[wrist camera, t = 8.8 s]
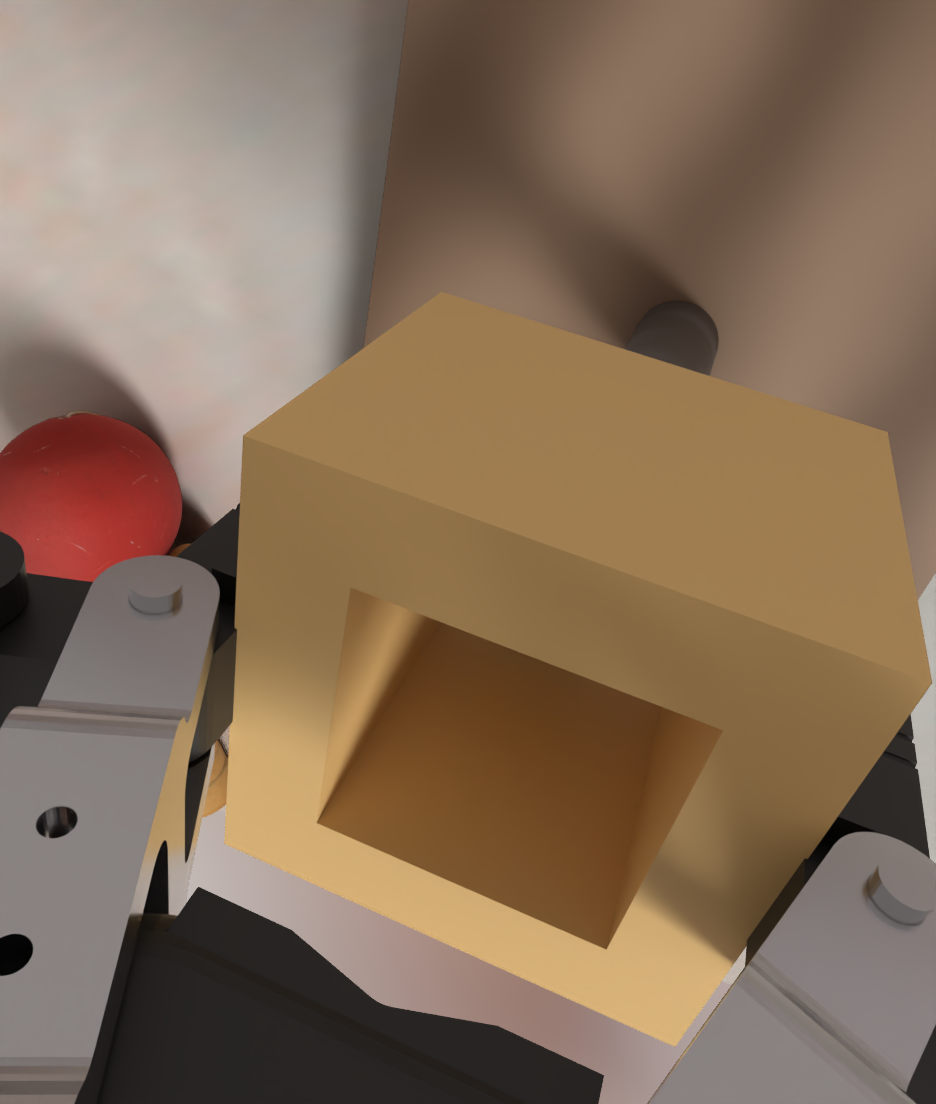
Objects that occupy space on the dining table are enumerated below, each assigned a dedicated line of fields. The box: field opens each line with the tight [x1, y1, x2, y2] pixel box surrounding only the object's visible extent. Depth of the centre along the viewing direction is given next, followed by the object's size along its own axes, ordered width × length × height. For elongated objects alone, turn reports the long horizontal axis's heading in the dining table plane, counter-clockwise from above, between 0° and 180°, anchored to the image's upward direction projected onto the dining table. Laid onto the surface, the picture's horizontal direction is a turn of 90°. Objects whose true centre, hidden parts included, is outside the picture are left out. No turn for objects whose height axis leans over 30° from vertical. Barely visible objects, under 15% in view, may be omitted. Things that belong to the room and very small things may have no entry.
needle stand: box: [364, 0, 936, 600], centre depth 17 cm, size 16×16×14 cm
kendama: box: [0, 411, 228, 817], centre depth 32 cm, size 8×6×18 cm
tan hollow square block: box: [225, 292, 932, 1046], centre depth 11 cm, size 6×6×5 cm
